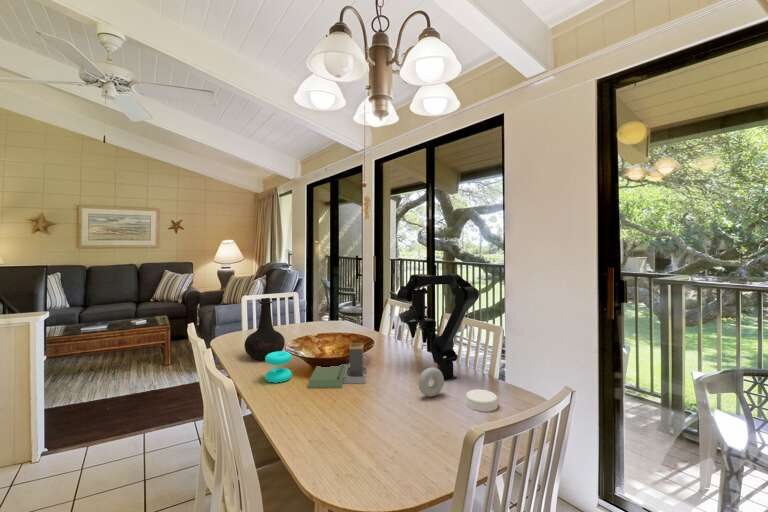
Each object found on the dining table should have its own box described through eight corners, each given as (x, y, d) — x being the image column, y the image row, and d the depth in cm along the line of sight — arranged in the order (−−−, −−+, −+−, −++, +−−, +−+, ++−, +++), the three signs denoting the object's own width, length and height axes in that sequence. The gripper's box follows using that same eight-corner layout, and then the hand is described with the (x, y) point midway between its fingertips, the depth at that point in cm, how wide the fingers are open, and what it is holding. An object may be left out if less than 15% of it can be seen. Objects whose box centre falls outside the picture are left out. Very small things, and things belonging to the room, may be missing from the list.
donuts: (292, 356, 138) (264, 358, 135) (292, 382, 139) (265, 385, 136) (290, 349, 148) (264, 351, 145) (290, 373, 148) (265, 376, 145)
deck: (367, 369, 153) (367, 360, 153) (364, 387, 133) (364, 377, 133) (318, 369, 153) (318, 361, 153) (309, 387, 133) (309, 378, 133)
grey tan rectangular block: (363, 375, 146) (363, 343, 145) (362, 380, 140) (362, 347, 140) (350, 375, 146) (350, 343, 145) (349, 380, 140) (349, 347, 140)
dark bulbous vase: (236, 358, 168) (236, 298, 167) (268, 349, 183) (268, 294, 182) (260, 365, 158) (260, 302, 157) (292, 355, 173) (292, 297, 172)
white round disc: (460, 401, 121) (460, 391, 121) (484, 397, 125) (484, 387, 124) (478, 414, 112) (478, 403, 112) (504, 409, 115) (504, 398, 115)
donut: (440, 391, 129) (440, 363, 129) (446, 395, 126) (446, 366, 126) (416, 397, 124) (416, 368, 124) (422, 401, 121) (422, 371, 121)
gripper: (391, 301, 159) (391, 337, 159) (412, 308, 142) (412, 347, 142) (413, 300, 163) (413, 334, 164) (436, 306, 146) (436, 344, 147)
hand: (418, 340), depth 154 cm, fingers open, 9 cm apart
